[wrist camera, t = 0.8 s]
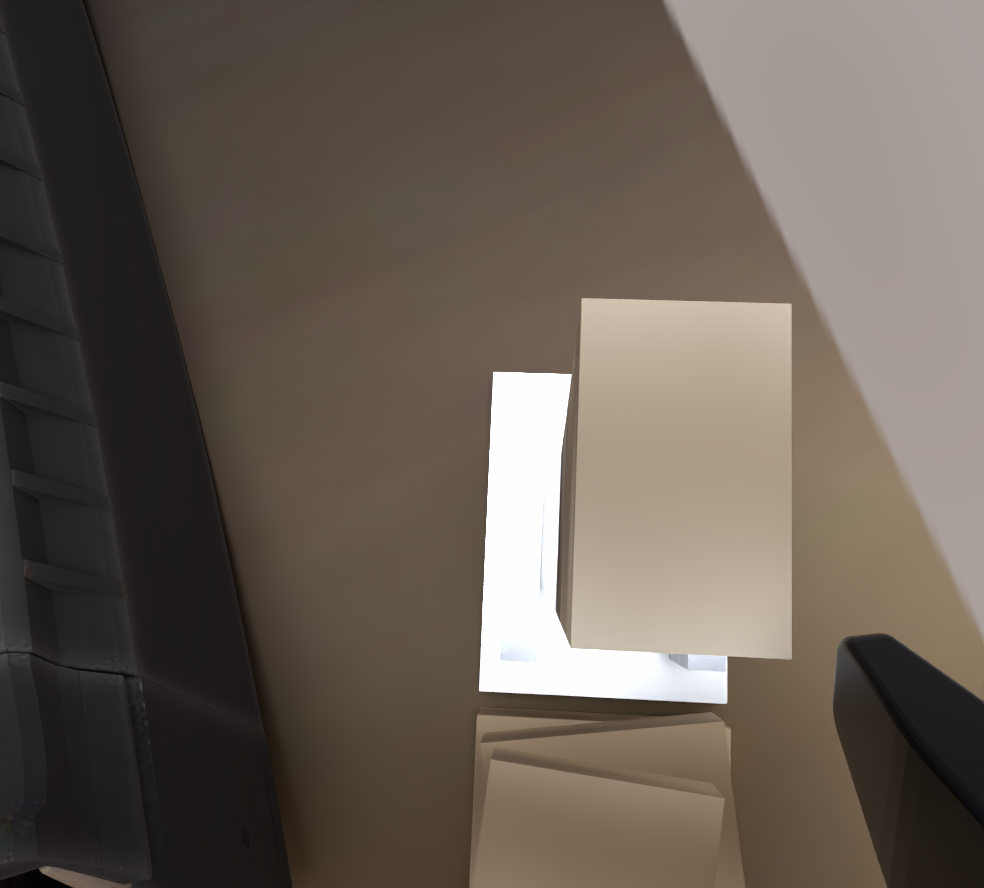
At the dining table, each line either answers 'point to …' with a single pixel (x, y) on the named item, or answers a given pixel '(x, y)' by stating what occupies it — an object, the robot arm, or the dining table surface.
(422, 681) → the dining table surface
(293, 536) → the dining table surface
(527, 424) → the rack
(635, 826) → the offcut stack
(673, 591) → the beige rectangular block
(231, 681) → the black curved panel
